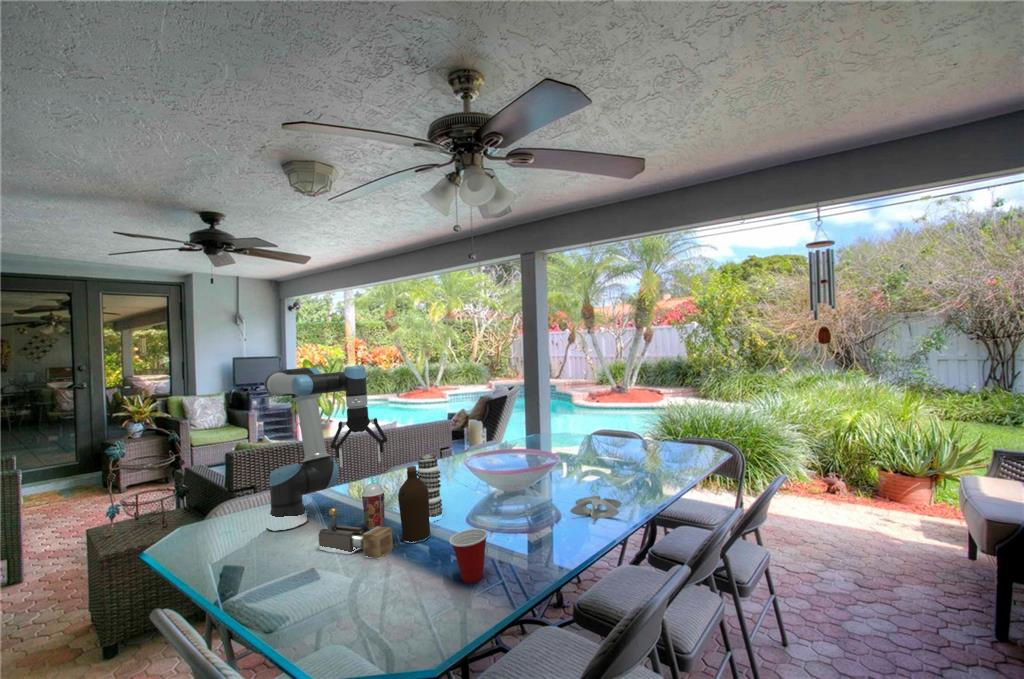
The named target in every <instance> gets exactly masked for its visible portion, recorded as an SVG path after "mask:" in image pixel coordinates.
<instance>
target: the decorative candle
mask: <svg viewBox="0 0 1024 679" xmlns="http://www.w3.org/2000/svg"><path fill="white" fill-rule="evenodd" d="M416 462H417V464H418V467H417V469H418V470H417V477H418V478H419V479H420V480H421V481H422V482H423V483H424V484H425V485H426V486H427V488H428V491H429V517H436V516H439V515H441V514H442V512H443V507H442V506H443V503H442V502H443V500H442V498H441V492H440V489H441V486H442V484H441V480H440V479H439V478H441V475H440V474H441V471H440V470H439V465H438V456H437V455H436V454H434V453H425V454H421V455H420V456H419V458H418V459H417V461H416Z"/></svg>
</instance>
